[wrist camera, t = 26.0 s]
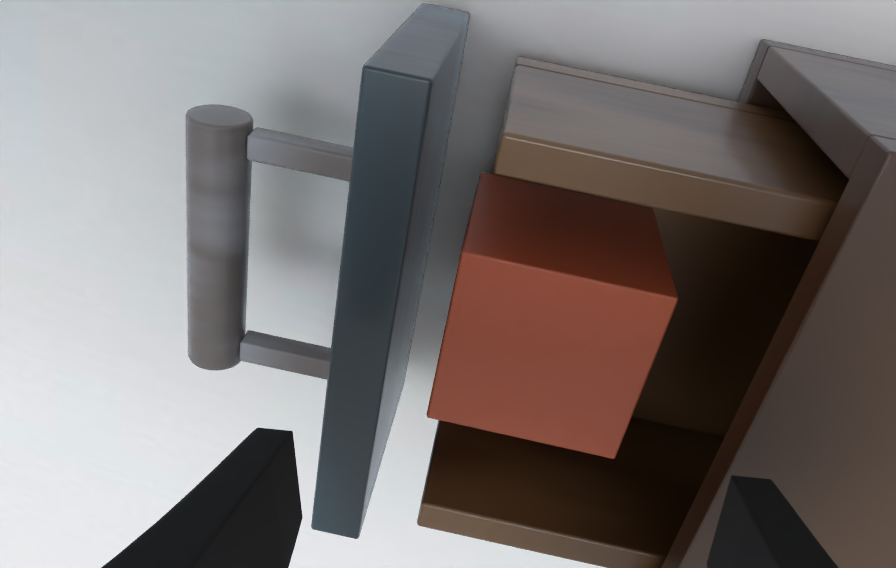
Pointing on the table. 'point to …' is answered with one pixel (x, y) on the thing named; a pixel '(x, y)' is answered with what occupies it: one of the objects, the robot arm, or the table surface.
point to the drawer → (404, 257)
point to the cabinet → (825, 330)
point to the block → (553, 316)
